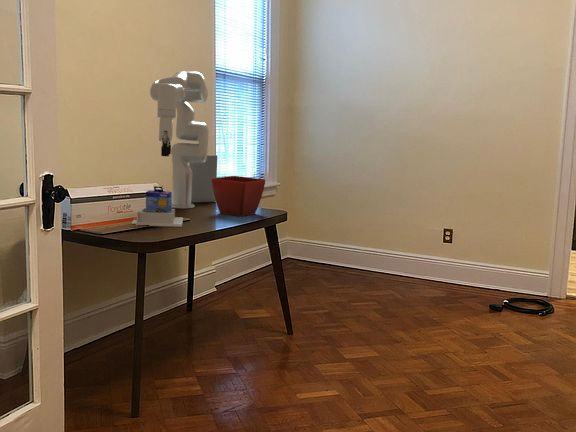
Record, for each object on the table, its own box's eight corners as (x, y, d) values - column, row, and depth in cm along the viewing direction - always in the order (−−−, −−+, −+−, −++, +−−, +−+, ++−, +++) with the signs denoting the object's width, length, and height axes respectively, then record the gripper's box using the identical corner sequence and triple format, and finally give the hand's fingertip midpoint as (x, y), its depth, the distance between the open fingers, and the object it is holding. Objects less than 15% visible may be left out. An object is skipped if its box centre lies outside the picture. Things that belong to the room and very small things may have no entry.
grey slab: (211, 200, 315) (212, 154, 311) (216, 202, 310) (217, 155, 306) (187, 201, 308) (188, 154, 304) (192, 203, 303) (193, 155, 299)
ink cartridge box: (144, 220, 241) (145, 186, 239) (148, 218, 246) (149, 184, 244) (168, 222, 241) (169, 187, 238) (171, 219, 246) (172, 186, 244)
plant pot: (243, 218, 265) (244, 182, 262) (209, 213, 274) (210, 178, 271) (264, 213, 281) (266, 179, 278) (232, 209, 290) (233, 175, 287)
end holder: (136, 218, 250) (136, 207, 249) (183, 219, 253) (183, 208, 252) (131, 225, 235) (131, 213, 234) (181, 226, 238) (182, 214, 237)
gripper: (159, 112, 250) (158, 152, 253) (155, 114, 233) (155, 156, 236) (176, 113, 251) (176, 153, 254) (174, 115, 234) (173, 157, 237)
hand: (166, 155), depth 245 cm, fingers open, 9 cm apart
